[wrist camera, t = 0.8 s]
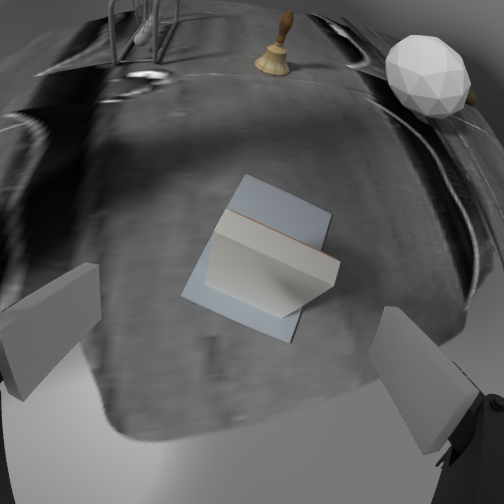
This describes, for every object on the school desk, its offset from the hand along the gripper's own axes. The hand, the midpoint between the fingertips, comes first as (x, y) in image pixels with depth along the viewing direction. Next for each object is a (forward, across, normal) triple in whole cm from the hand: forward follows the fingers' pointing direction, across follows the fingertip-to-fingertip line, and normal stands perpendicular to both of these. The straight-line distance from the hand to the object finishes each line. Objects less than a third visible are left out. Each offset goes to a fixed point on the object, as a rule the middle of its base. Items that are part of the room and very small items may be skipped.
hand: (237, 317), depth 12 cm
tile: (+21, +1, -7) cm, 23 cm away
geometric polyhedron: (+62, +39, +37) cm, 82 cm away
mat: (+26, +3, -3) cm, 26 cm away
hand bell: (+54, 0, +34) cm, 64 cm away
